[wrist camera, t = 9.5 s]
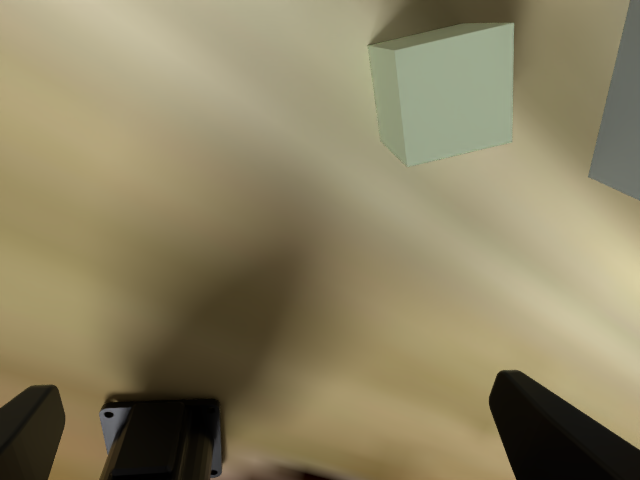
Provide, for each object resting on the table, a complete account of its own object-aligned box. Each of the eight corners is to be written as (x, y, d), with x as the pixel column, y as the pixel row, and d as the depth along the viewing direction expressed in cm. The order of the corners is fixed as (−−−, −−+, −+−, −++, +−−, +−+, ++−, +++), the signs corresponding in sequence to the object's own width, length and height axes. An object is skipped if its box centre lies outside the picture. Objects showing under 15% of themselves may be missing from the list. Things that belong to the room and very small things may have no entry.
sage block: (465, 120, 19) (511, 142, 15) (380, 140, 19) (407, 167, 15) (462, 23, 17) (514, 22, 14) (367, 45, 17) (394, 50, 14)
